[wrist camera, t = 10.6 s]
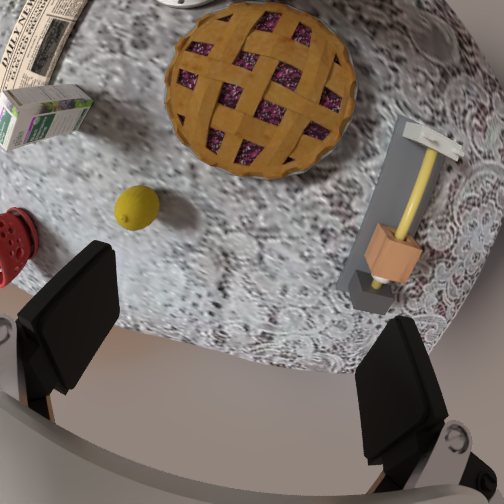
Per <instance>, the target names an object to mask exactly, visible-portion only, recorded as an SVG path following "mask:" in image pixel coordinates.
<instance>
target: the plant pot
mask: <svg viewBox="0 0 504 504" xmlns="http://www.w3.org/2000/svg"><path fill="white" fill-rule="evenodd" d="M37 250H38V236H37V232H36V229H35V226H34V223H33V222H32V221H31V219H30V217H29V216H28V215H27V214H26V213H25V212H24V211H23V210H21V209H19V208H16V207H13V208H10V209H8V210H7V212H6V213H3V214H0V268H1V269H2V272H0V288H3V287H5V286H6V285H8V284H9V283H10V282H11V281H12V280H13V279H14V278H15V277H16V276H17V275H18V274H19V273H20V272H21V270H22V269H23V268H24V266H25V264H26V263H27V261H28V259H32V258H34V257H35V255H36V253H37Z"/></svg>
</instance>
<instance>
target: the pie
mask: <svg viewBox="0 0 504 504" xmlns="http://www.w3.org/2000/svg"><path fill="white" fill-rule="evenodd" d="M165 84H166V85H165V95H164V104H165V107H166V110H167V113H168V117H169V120H170V123H171V126H172V130H173V133H174V135H175V136H176V137H177V138H178V139H179V140H180V141H181V142H182V144H183V145H185V146H186V147H187V148H188V149H189V150H190V152H191V153H192V154H193V155H194V156H195V157H196V158H197V159H199V160H201V161H203V162H205V163H207V164H208V165H210V166H213V167H215V168H217V169H219V170H221V171H223V172H225V173H227V174H229V175H234V176H241V177H248V178H255V179H261V180H273V179H277V178H283V177H287V176H292V175H297V174H302V173H305V172H306V171H308V170H309V169H310V168H312V167H313V166H314V165H316V164H317V163H318V162H320V161H321V160H323V159H324V158H325V157H327V156H328V155H329V154H331V153H332V152H333V151H334V150H335V148H336V147H337V145H338V143H339V142H340V140H341V138H342V137H343V135H344V133H345V132H346V130H347V128H348V127H349V125H350V123H351V122H352V120H353V115H354V110H355V104H356V98H357V92H358V85H359V83H358V79H357V75H356V71H355V67H354V64H353V60H352V56H351V53H350V50H349V48H348V47H347V46H346V45H345V43H344V42H343V41H342V40H341V39H340V38H339V37H338V36H337V35H336V34H335V33H334V31H333V30H332V29H331V28H330V27H329V26H328V25H327V24H326V23H325V22H324V21H322V20H320V19H318V18H316V17H314V16H312V15H310V14H308V13H306V12H303V11H301V10H299V9H297V8H294V7H292V6H289V5H287V4H282V3H275V2H255V1H246V2H242V3H235V4H230V5H229V6H227V7H224V8H221V9H217V10H214V11H211V12H210V13H209V14H207V15H205V16H203V17H202V18H200V19H199V20H197V22H196V25H194V26H193V27H192V28H191V29H190V30H189V31H188V32H187V33H185V34H184V35H183V37H182V38H181V39H180V40H179V42H178V43H177V45H176V46H175V53H174V55H173V57H172V59H171V61H170V63H169V65H168V67H167V71H166V76H165Z"/></svg>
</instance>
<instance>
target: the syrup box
mask: <svg viewBox="0 0 504 504" xmlns="http://www.w3.org/2000/svg"><path fill="white" fill-rule="evenodd" d="M93 102H94V101H93V100H92V99H91V98H90V97H89V96H87V95H86V94H85V93H84V92H83V91H82V90H80V89H79V88H78V87H77V86H75V85H74V84H61V85H45V86H35V87H26V88H18V89H10V90H4V91H2V92H1V97H0V145H1V146H2V147H3V148H4V149H5V150H6V151H10V150H13V149H16V148H19V147H22V146H25V145H28V144H31V143H34V142H37V141H40V140H44V139H47V138H50V137H54V136H57V135H61V134H65V133H70V132H74V131H77V130H78V129H79V127H80V125H81V123H82V121H83V120H84V118H85V116H86V114H87V112H88V111H89V109H90V107H91V105H92V103H93Z"/></svg>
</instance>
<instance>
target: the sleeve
mask: <svg viewBox="0 0 504 504" xmlns="http://www.w3.org/2000/svg"><path fill="white" fill-rule="evenodd" d="M396 231H397V229H396V228H393V227H390V226H387V225H384V224H381V223H378V224H377V226H376V229H375V231H374V234H373V236H372V238H371V241H370V243H369V245H368V248H367V250H366V252H365V254H364V256H365V258H366V261H367V263H368V265H369V268H370V270H371V273H372V275H373V276H376V277H380V278H384V279H388V280H392V281H396V282H400V283H403V284H405V283H406V282H407V280H408V278H409V276H410V274H411V272H412V270H413V268H414V267H415V265H416V263H417V261H418V259H419V257H420V255H421V253H422V249H421V248H420V247H419V245H418V244H417V243H416V241H415V240H414V239H413V238H412V236H411V235H410V234H409V233H408V232H407V235H406V237H405V239H404V241H402V240H399V239H396V238H394V235H395V233H396Z"/></svg>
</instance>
